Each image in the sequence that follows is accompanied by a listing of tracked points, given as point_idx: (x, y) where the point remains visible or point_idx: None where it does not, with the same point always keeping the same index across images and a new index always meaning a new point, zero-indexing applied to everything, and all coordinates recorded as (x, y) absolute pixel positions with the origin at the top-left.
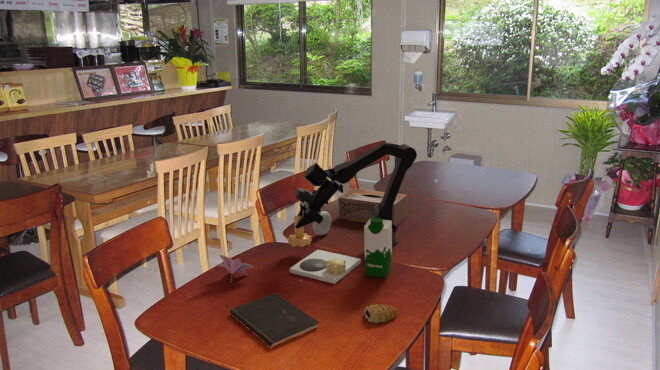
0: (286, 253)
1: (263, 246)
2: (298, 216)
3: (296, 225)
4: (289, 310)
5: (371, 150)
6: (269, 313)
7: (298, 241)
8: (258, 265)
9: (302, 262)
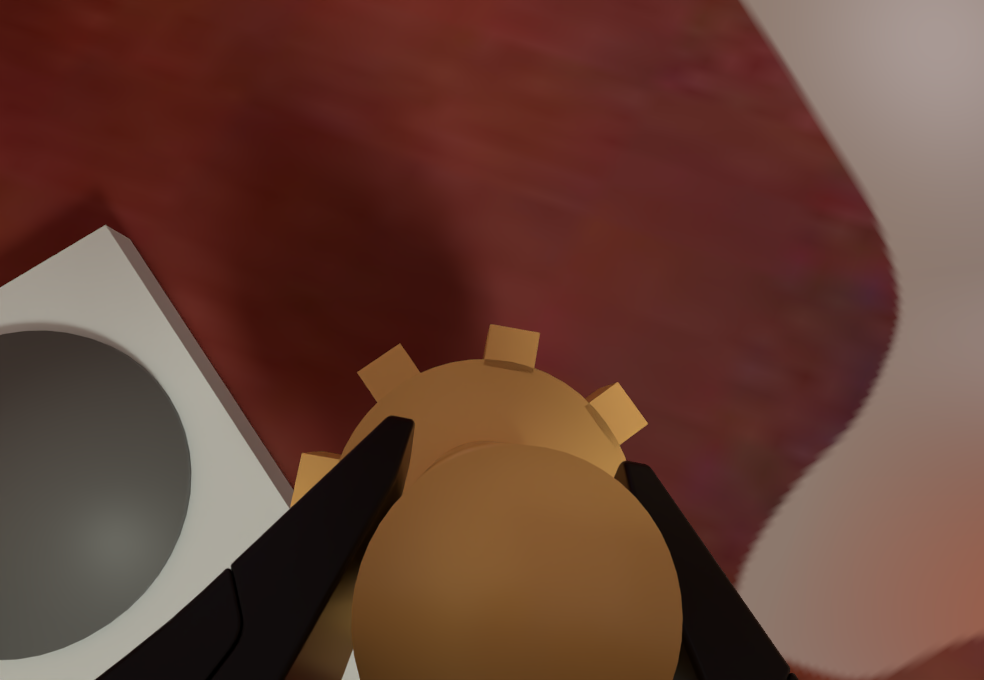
0: (576, 362)
1: (844, 212)
2: (554, 625)
3: (365, 442)
4: None
5: None
6: None
7: (349, 439)
8: (434, 40)
9: (145, 391)
